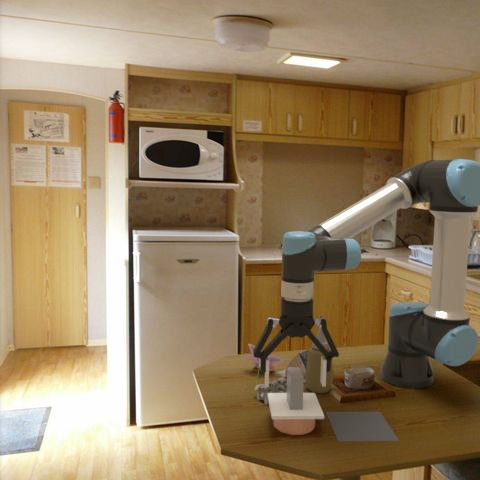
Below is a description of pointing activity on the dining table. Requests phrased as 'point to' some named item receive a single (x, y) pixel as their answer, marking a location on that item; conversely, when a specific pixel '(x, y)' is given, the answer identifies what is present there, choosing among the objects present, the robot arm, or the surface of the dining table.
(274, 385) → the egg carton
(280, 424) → the bowl
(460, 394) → the dining table surface
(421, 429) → the dining table surface
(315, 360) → the squeeze bottle
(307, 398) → the cover sheet
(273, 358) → the lily
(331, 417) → the rubber mat
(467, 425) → the dining table surface
